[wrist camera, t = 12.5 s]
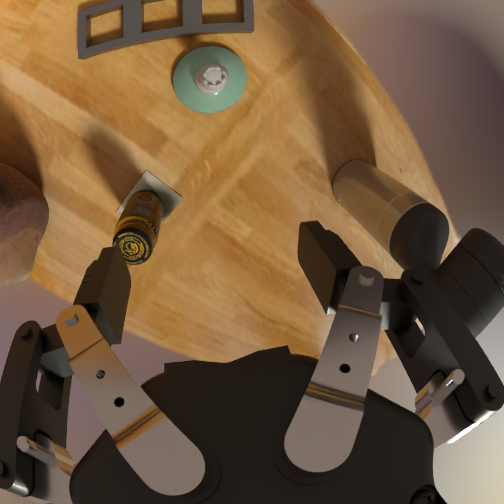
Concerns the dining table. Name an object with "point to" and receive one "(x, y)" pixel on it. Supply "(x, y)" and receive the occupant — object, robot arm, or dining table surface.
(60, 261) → the dining table surface
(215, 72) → the rook chess piece
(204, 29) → the grey compartment tray
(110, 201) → the dining table surface
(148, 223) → the condiment
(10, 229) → the jug
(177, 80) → the green dome
